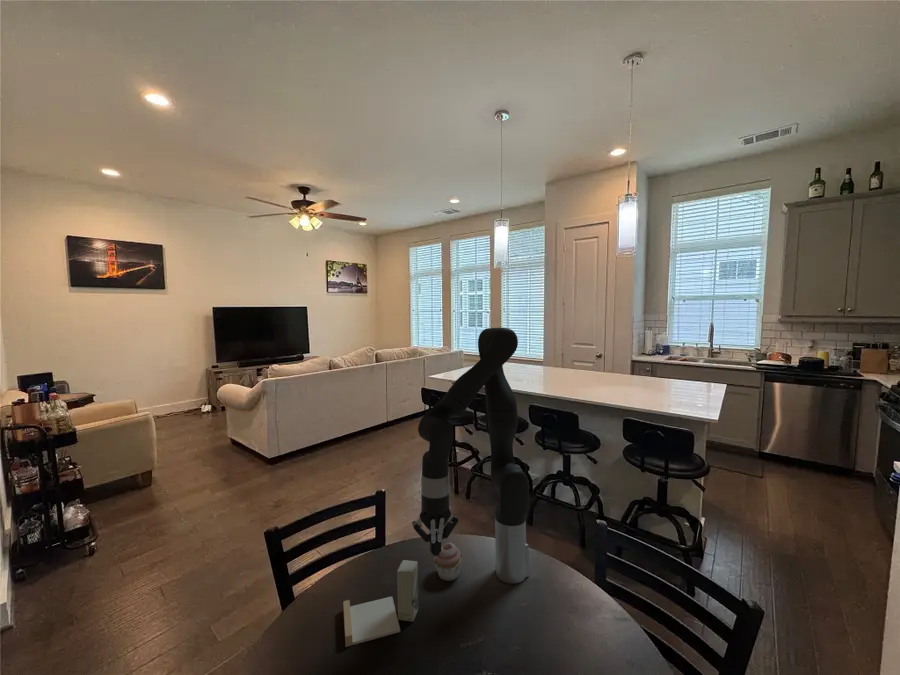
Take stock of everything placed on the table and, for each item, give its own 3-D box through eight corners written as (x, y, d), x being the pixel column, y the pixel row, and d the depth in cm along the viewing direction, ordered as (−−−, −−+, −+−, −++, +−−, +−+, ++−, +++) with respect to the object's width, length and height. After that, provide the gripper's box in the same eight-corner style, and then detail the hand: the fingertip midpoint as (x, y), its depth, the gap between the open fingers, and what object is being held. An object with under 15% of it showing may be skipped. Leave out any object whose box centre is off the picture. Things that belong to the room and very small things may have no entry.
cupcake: (430, 583, 108) (430, 550, 108) (436, 563, 118) (436, 533, 117) (462, 587, 107) (461, 553, 107) (465, 566, 116) (465, 535, 116)
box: (413, 622, 94) (412, 573, 94) (397, 620, 95) (396, 571, 95) (419, 607, 99) (418, 560, 99) (403, 605, 100) (402, 558, 100)
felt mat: (392, 598, 103) (392, 589, 103) (400, 631, 91) (400, 622, 91) (343, 610, 99) (343, 601, 98) (345, 647, 87) (345, 636, 87)
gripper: (454, 481, 104) (454, 542, 105) (408, 488, 100) (408, 550, 101) (463, 493, 97) (463, 557, 98) (414, 500, 93) (414, 567, 94)
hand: (435, 554), depth 99 cm, fingers closed
